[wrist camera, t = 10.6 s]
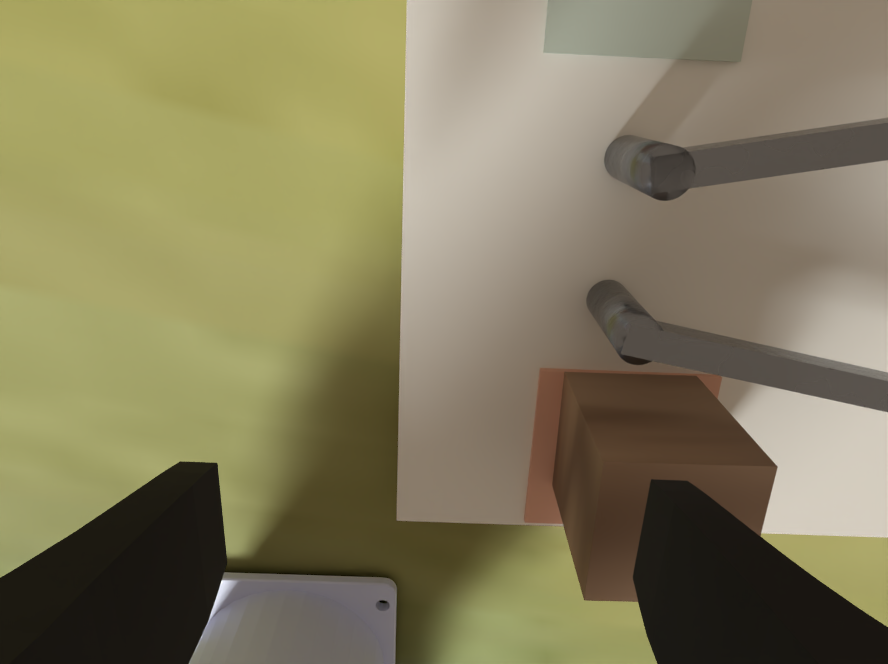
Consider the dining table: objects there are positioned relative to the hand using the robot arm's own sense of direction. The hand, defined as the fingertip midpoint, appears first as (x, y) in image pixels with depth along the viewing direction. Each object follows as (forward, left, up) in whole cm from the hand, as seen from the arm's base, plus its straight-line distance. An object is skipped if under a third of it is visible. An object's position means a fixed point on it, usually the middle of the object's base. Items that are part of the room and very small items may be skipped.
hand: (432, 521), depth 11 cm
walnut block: (-3, -6, -9) cm, 11 cm away
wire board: (+3, -8, -10) cm, 13 cm away
